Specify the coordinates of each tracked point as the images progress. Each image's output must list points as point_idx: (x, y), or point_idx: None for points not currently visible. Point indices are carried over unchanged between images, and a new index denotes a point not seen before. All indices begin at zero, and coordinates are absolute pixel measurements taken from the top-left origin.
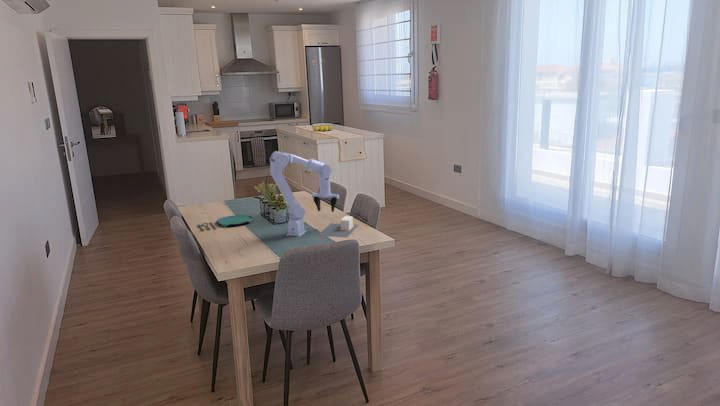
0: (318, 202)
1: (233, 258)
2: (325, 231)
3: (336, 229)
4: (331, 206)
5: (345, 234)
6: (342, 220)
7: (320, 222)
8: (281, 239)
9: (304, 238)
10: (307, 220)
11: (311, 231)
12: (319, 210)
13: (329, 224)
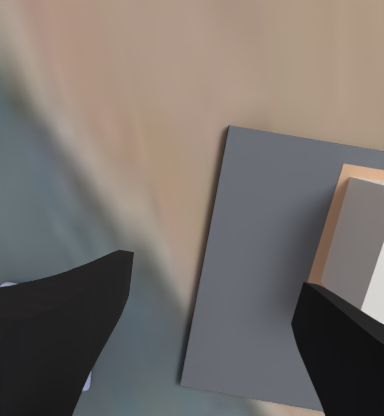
0: (69, 393)
1: None
2: (218, 320)
3: (288, 281)
4: (322, 404)
5: None
6: None
7: (133, 71)
8: None
9: (118, 403)
10: (5, 7)
11: None
12: (128, 288)
13: (222, 161)
